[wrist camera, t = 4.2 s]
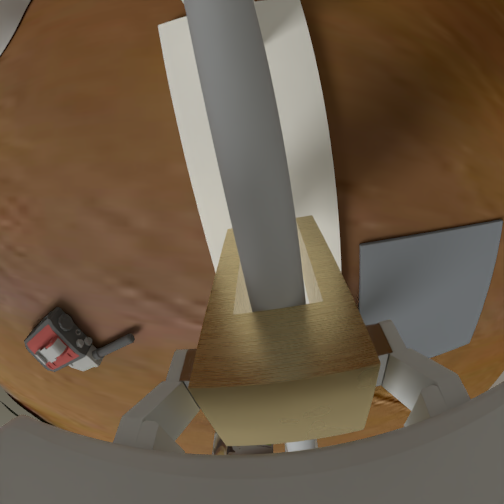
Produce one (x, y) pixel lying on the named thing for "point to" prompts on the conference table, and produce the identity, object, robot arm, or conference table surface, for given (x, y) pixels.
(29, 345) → the walkie-talkie
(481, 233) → the rubber mat
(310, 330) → the c-link
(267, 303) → the rod stand
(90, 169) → the conference table surface
